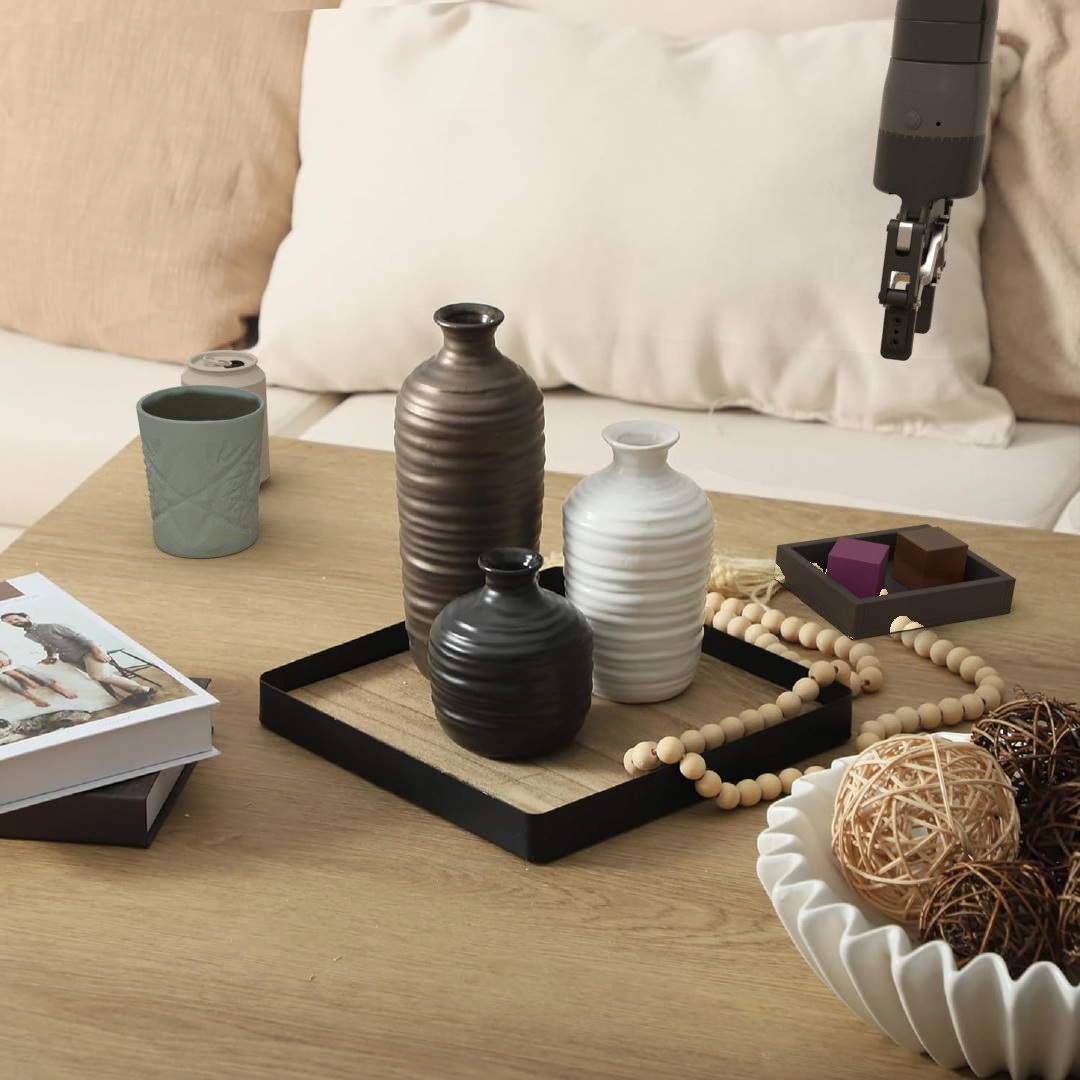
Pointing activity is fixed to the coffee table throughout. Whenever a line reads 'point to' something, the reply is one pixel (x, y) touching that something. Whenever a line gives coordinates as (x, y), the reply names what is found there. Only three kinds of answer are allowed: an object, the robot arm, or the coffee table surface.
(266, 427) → the can
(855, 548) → the plum block
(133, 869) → the coffee table surface
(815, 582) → the tray
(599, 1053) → the coffee table surface
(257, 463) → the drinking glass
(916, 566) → the walnut block
